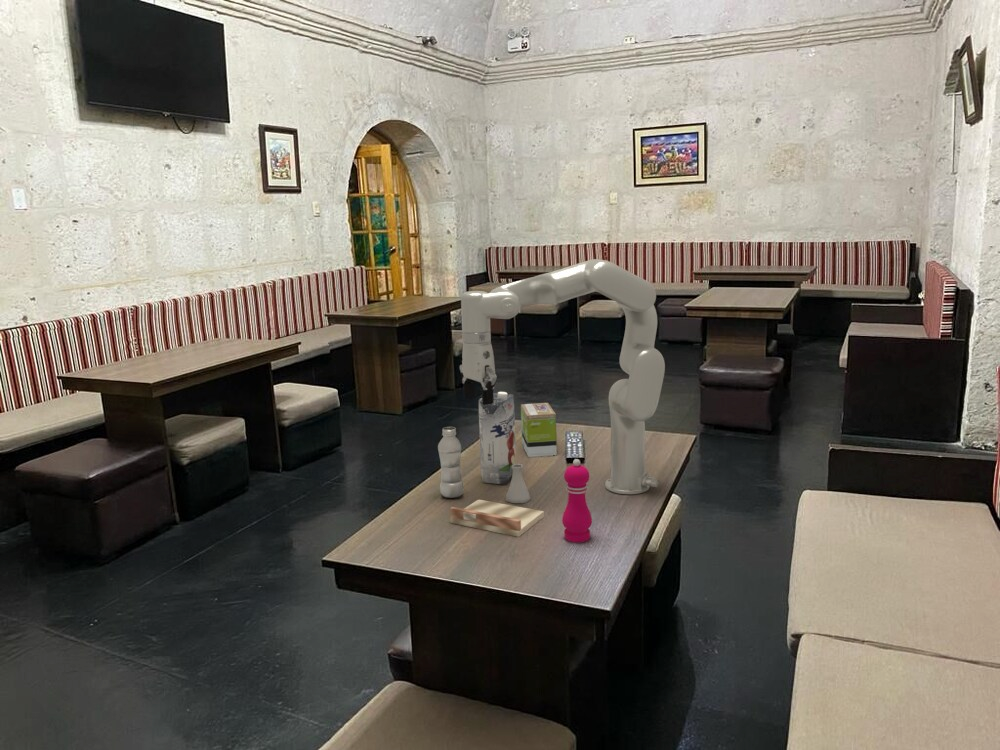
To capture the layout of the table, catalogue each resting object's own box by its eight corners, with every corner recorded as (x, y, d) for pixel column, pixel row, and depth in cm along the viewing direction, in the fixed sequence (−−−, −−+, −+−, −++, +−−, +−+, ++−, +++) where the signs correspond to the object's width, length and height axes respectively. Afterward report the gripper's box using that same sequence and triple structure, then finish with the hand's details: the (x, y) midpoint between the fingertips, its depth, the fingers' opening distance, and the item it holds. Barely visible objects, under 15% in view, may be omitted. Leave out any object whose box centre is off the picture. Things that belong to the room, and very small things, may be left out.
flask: (534, 496, 211) (533, 462, 209) (526, 505, 204) (525, 470, 202) (509, 493, 213) (508, 460, 211) (501, 503, 207) (500, 468, 205)
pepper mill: (572, 546, 178) (572, 466, 174) (556, 535, 185) (555, 457, 181) (597, 539, 182) (597, 460, 178) (581, 529, 188) (580, 452, 184)
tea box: (521, 444, 260) (520, 403, 257) (549, 443, 261) (549, 401, 258) (527, 458, 245) (526, 414, 242) (557, 456, 246) (557, 412, 243)
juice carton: (478, 483, 222) (475, 395, 217) (491, 472, 232) (489, 387, 226) (506, 486, 219) (503, 397, 213) (518, 475, 229) (516, 389, 223)
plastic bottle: (460, 501, 209) (458, 432, 205) (437, 500, 210) (434, 431, 206) (466, 492, 215) (463, 425, 211) (443, 491, 216) (440, 425, 212)
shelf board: (543, 516, 196) (543, 502, 195) (518, 537, 184) (517, 522, 183) (478, 504, 206) (478, 490, 205) (450, 523, 194) (449, 508, 193)
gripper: (506, 340, 194) (507, 404, 197) (471, 332, 208) (473, 393, 211) (481, 343, 190) (483, 409, 193) (448, 335, 204) (450, 396, 207)
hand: (478, 400), depth 202 cm, fingers open, 9 cm apart
